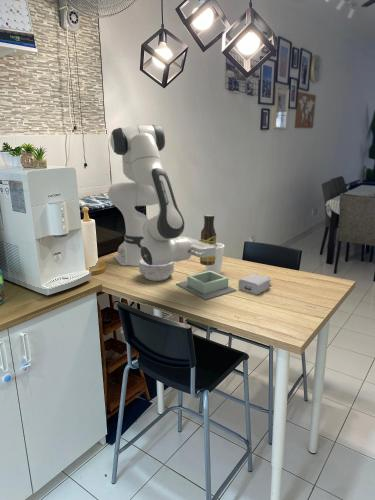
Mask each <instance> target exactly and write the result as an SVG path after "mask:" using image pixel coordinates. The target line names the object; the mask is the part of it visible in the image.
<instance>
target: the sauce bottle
mask: <svg viewBox="0 0 375 500" xmlns="http://www.w3.org/2000/svg"><path fill="white" fill-rule="evenodd" d="M203 219H204V220H203V223H204V224H203V228H202V230H200V231H201V232H200V239H199V240H200V241H201V242H204V243H207V244H210V245H211V244H212V243H215V244H216V243H217V233H216V230H215V226H214V225H215V224H214V223H215V222H214V221H215V215H213V214H205V215H204V216H203ZM199 261H200V265H201V266H205V265H214V263H215V256H211V257H203V258H200V257H199Z"/></svg>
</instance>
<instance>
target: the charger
mask: <svg viewBox="0 0 375 500" xmlns="http://www.w3.org/2000/svg"><path fill="white" fill-rule="evenodd" d="M271 281H272V280H271V277H270V276H269V277H268V276H265V275H258V274H254V273H252V274H249V275H246V276H245V277H242V278H240V279H238V286H237V287H238V289H239V291H243V292H246V293H249V294H253V295H259V294H260V293H262V292H263V293H264V292H265V291H266V290H269V289H270V283H271Z"/></svg>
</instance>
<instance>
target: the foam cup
mask: <svg viewBox="0 0 375 500" xmlns="http://www.w3.org/2000/svg"><path fill="white" fill-rule="evenodd" d="M216 244H217V248H216V255H215V263H214V265H204V266H205V272H206V271H210V270H211V271H213V272H216V273H218V274H220V275H221V271H222V265H223V259H224V258H223V257H224V253H225V244H223V243H220V242H216Z"/></svg>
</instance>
